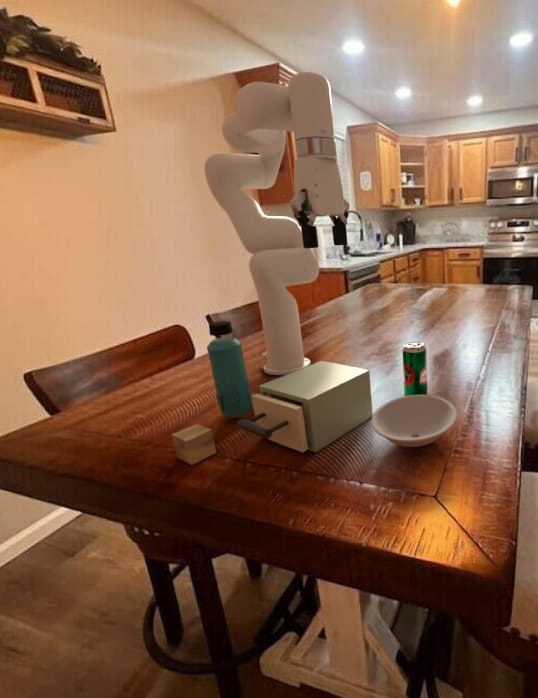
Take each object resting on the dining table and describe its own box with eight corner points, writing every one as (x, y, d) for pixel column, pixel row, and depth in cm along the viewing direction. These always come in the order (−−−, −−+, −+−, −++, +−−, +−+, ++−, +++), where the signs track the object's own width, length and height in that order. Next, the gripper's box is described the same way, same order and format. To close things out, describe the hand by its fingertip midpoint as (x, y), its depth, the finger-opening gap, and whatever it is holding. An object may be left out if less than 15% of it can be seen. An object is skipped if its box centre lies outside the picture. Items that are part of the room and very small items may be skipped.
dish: (447, 474, 61) (446, 445, 59) (358, 462, 65) (356, 435, 63) (463, 421, 77) (463, 397, 75) (391, 414, 81) (390, 391, 79)
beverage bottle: (261, 411, 85) (245, 318, 79) (240, 425, 79) (221, 326, 73) (236, 408, 88) (218, 317, 81) (214, 422, 82) (193, 325, 75)
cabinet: (315, 452, 69) (308, 399, 66) (267, 434, 76) (258, 385, 73) (372, 416, 81) (369, 370, 78) (326, 403, 88) (321, 360, 85)
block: (177, 457, 69) (171, 434, 68) (202, 446, 73) (196, 423, 71) (191, 465, 67) (185, 441, 65) (216, 452, 70) (211, 429, 69)
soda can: (425, 402, 86) (424, 348, 82) (402, 401, 87) (399, 347, 83) (429, 392, 91) (427, 341, 87) (406, 392, 92) (404, 341, 88)
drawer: (278, 467, 63) (271, 422, 61) (234, 448, 69) (225, 406, 67) (359, 417, 78) (355, 379, 76) (316, 405, 85) (312, 370, 82)
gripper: (328, 160, 85) (336, 244, 91) (268, 149, 71) (282, 250, 76) (358, 155, 82) (365, 243, 87) (301, 142, 68) (314, 248, 73)
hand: (326, 246), depth 82 cm, fingers open, 9 cm apart
